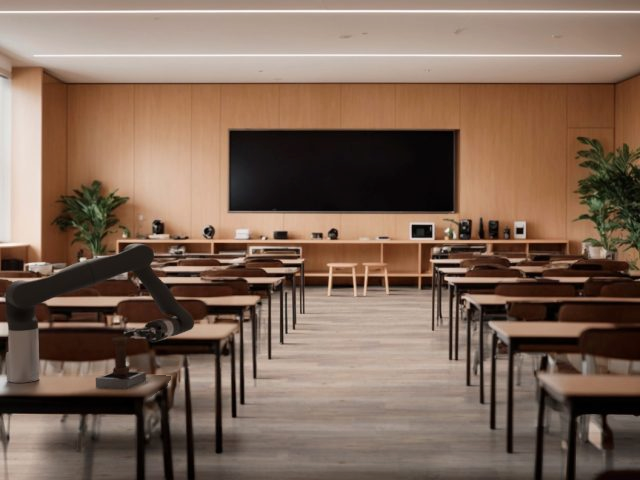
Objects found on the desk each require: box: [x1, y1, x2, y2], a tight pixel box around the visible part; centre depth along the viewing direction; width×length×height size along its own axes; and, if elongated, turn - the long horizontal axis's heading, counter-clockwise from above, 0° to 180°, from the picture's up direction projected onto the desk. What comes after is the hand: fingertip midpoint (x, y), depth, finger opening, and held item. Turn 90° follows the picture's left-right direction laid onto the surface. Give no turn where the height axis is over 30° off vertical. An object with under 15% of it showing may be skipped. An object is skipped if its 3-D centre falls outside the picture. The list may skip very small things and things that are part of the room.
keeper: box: [95, 370, 147, 390], centre depth 228 cm, size 11×11×3 cm
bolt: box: [110, 336, 131, 379], centre depth 228 cm, size 6×5×15 cm
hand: (135, 336), depth 239 cm, fingers open, 8 cm apart
